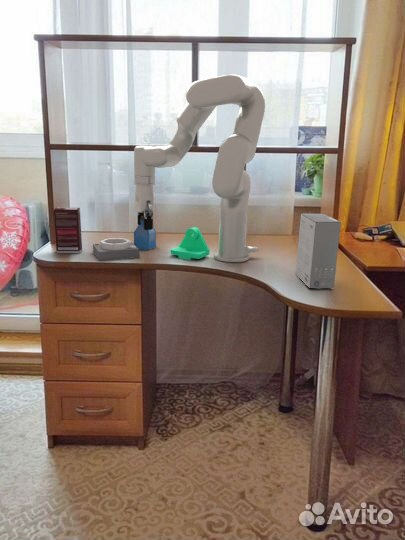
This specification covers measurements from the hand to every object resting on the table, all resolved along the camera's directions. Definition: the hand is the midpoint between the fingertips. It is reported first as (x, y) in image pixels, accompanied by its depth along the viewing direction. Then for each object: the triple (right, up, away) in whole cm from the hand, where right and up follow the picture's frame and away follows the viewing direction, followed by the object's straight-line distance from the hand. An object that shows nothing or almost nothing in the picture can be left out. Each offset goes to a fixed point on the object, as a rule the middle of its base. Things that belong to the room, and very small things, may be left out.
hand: (145, 227), depth 181 cm
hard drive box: (+55, -20, -35) cm, 68 cm away
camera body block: (-9, -11, -10) cm, 17 cm away
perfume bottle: (0, -8, +2) cm, 8 cm away
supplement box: (-27, -10, -7) cm, 29 cm away
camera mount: (+17, -12, -9) cm, 23 cm away
